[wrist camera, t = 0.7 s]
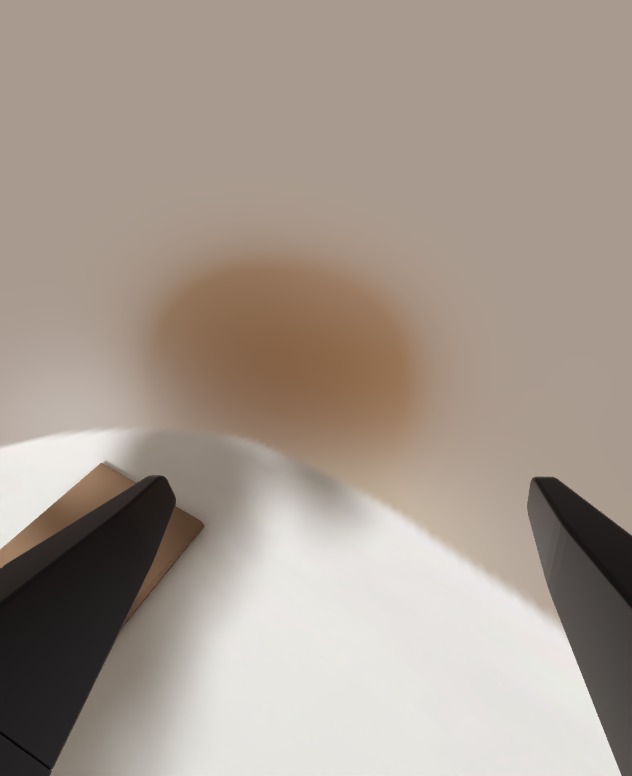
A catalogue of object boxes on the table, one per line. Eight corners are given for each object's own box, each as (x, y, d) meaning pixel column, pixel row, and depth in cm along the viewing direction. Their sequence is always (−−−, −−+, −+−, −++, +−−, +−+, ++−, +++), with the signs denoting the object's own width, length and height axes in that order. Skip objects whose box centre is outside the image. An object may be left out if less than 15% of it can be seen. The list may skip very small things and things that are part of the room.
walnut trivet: (45, 721, 19) (38, 719, 18) (-50, 601, 24) (-57, 598, 24) (204, 525, 26) (201, 521, 26) (104, 467, 31) (101, 462, 31)
